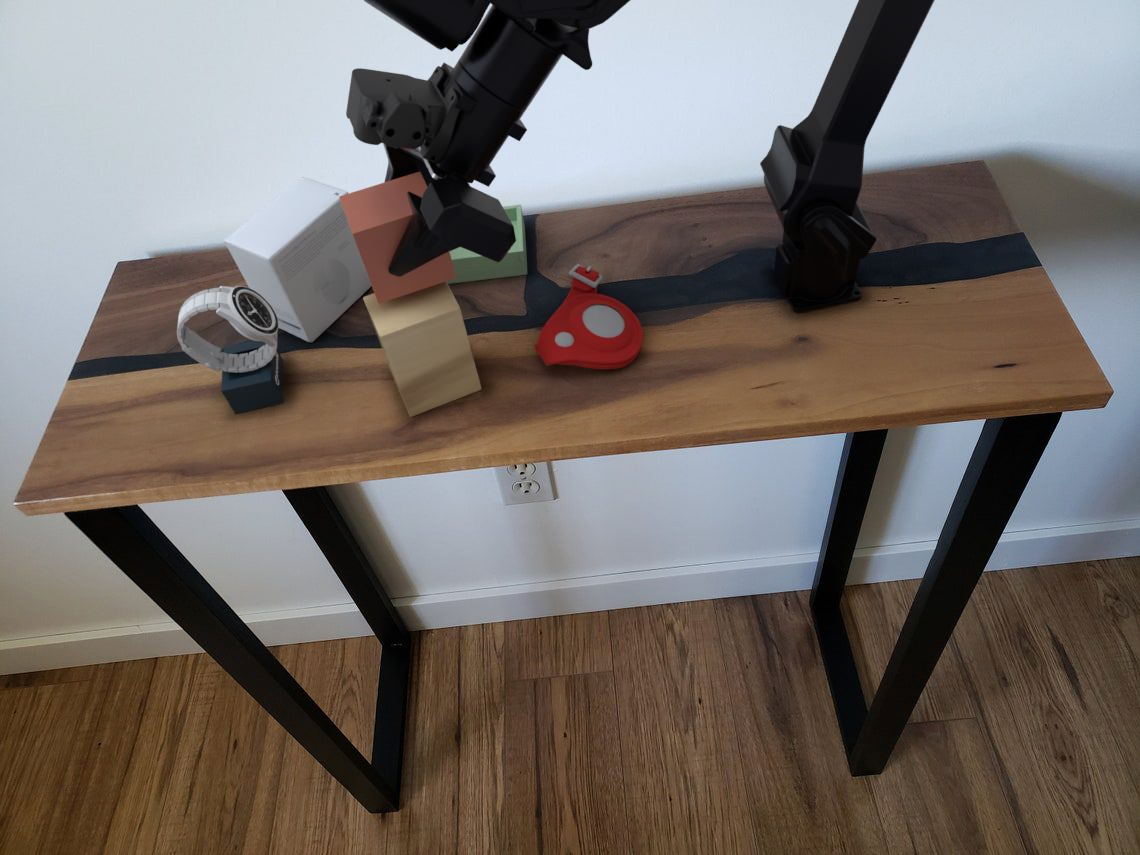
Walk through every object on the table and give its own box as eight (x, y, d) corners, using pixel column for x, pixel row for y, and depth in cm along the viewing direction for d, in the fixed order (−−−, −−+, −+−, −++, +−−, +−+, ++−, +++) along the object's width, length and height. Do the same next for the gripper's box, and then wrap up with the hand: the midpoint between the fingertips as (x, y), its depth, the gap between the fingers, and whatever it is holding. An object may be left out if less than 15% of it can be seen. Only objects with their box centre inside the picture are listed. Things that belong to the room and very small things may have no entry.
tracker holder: (668, 339, 76) (575, 372, 72) (652, 370, 80) (563, 403, 75) (596, 245, 81) (504, 270, 76) (584, 277, 85) (495, 303, 80)
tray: (525, 228, 90) (521, 204, 88) (527, 274, 85) (523, 250, 83) (434, 238, 90) (428, 215, 88) (432, 285, 86) (425, 262, 83)
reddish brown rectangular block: (456, 278, 69) (437, 206, 64) (378, 304, 68) (352, 233, 63) (439, 242, 72) (420, 171, 67) (364, 266, 71) (338, 196, 66)
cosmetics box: (335, 259, 90) (301, 173, 82) (382, 278, 87) (351, 191, 79) (263, 322, 85) (219, 238, 76) (311, 345, 82) (270, 259, 74)
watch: (304, 398, 78) (259, 309, 69) (215, 418, 77) (158, 331, 69) (303, 354, 81) (260, 264, 73) (218, 373, 81) (164, 285, 72)
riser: (482, 389, 76) (460, 307, 69) (410, 417, 75) (379, 336, 67) (462, 352, 80) (439, 269, 72) (393, 378, 78) (362, 296, 71)
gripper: (364, -29, 62) (270, 151, 69) (433, 95, 50) (312, 296, 57) (488, 47, 69) (391, 203, 76) (572, 170, 58) (450, 340, 65)
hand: (385, 253), depth 68 cm, fingers closed on reddish brown rectangular block, 5 cm apart
